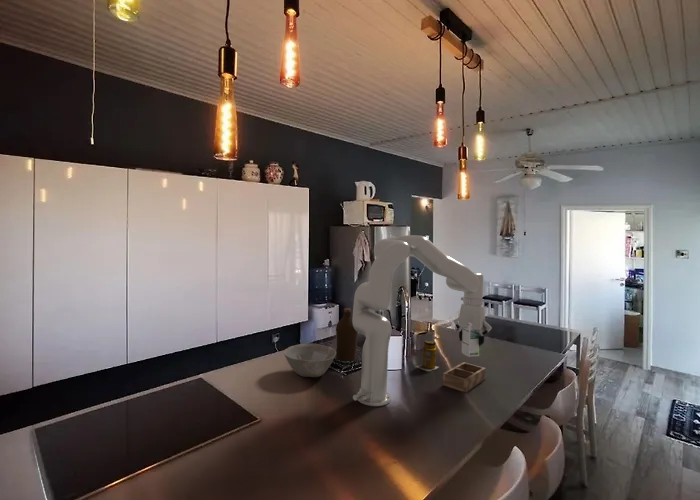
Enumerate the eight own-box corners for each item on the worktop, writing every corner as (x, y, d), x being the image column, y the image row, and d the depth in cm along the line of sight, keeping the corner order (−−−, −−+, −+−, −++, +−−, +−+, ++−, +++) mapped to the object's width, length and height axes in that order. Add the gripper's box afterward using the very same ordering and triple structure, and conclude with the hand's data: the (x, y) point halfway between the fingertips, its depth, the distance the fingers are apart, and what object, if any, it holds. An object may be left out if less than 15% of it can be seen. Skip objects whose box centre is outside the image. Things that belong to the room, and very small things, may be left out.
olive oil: (360, 358, 184) (361, 307, 183) (352, 365, 174) (354, 312, 173) (339, 355, 188) (341, 305, 186) (331, 362, 178) (332, 309, 176)
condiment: (439, 367, 176) (440, 342, 175) (428, 371, 170) (429, 345, 169) (426, 363, 181) (427, 338, 180) (415, 367, 175) (416, 341, 174)
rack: (465, 392, 149) (466, 380, 148) (442, 385, 155) (443, 373, 155) (485, 379, 163) (485, 368, 163) (463, 373, 170) (463, 362, 169)
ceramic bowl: (311, 390, 147) (312, 364, 146) (271, 374, 161) (272, 351, 160) (346, 373, 164) (347, 351, 164) (308, 361, 178) (308, 340, 178)
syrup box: (468, 357, 158) (470, 323, 158) (461, 352, 164) (462, 319, 163) (480, 356, 160) (482, 322, 159) (472, 351, 166) (474, 319, 165)
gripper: (449, 299, 164) (448, 339, 165) (489, 306, 152) (487, 349, 153) (457, 297, 169) (456, 336, 170) (496, 303, 158) (494, 345, 159)
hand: (471, 342), depth 162 cm, fingers closed on syrup box, 7 cm apart
